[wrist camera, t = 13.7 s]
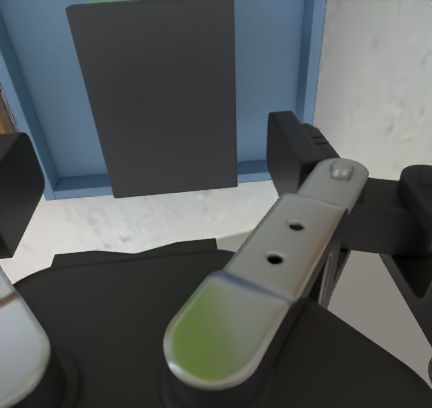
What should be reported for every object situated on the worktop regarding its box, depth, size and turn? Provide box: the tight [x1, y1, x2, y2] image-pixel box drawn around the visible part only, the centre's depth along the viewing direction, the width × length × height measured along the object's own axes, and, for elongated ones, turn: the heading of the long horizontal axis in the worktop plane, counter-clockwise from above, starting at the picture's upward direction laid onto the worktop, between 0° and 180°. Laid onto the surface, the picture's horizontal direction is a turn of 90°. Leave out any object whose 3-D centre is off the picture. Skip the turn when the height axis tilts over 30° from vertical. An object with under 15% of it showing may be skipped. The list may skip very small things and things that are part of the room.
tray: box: [0, 0, 327, 200], centre depth 19 cm, size 16×13×2 cm
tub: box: [65, 0, 238, 198], centre depth 17 cm, size 6×8×6 cm
